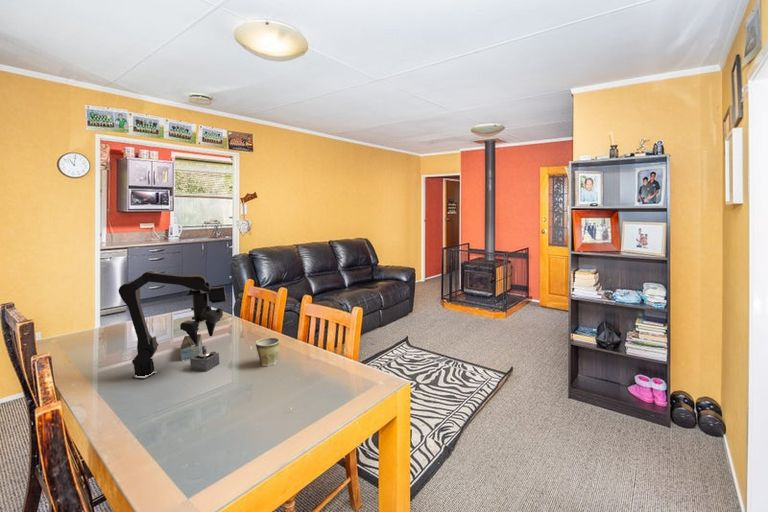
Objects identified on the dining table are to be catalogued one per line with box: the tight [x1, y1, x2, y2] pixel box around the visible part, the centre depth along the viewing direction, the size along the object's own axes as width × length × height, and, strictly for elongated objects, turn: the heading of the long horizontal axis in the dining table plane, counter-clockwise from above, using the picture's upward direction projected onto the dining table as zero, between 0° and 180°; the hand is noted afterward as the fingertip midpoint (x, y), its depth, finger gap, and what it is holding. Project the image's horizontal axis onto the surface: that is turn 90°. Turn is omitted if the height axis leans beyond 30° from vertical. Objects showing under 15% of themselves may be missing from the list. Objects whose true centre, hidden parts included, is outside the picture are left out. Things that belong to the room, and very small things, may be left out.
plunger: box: [199, 345, 210, 359], centre depth 166 cm, size 5×5×9 cm
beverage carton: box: [179, 333, 203, 361], centre depth 184 cm, size 8×19×7 cm, turn 21°
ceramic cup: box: [255, 337, 280, 367], centre depth 170 cm, size 13×10×10 cm
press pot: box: [189, 351, 221, 372], centre depth 168 cm, size 10×8×5 cm
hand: (203, 339), depth 166 cm, fingers open, 9 cm apart
